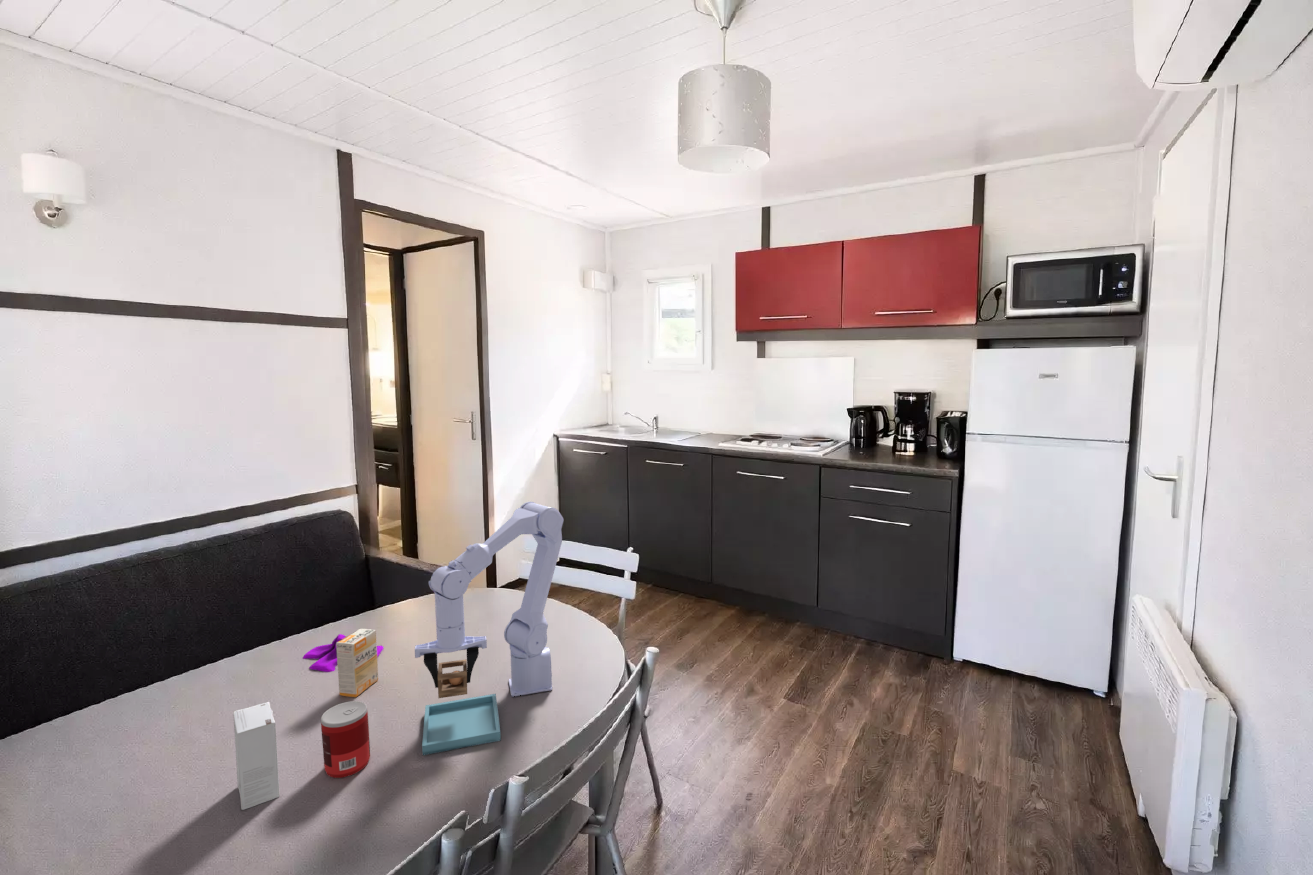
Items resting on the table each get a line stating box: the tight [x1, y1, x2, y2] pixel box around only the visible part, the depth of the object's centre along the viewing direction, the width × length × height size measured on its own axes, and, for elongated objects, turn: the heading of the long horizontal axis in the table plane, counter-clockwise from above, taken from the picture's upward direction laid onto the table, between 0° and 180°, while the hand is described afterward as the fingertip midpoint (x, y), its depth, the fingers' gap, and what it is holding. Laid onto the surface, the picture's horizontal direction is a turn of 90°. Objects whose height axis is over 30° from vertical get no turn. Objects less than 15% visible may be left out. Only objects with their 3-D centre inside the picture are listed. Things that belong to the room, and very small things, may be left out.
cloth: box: [302, 633, 384, 673], centre depth 161 cm, size 22×19×6 cm
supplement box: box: [336, 628, 379, 698], centre depth 143 cm, size 8×5×13 cm, turn 168°
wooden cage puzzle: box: [437, 658, 468, 699], centre depth 130 cm, size 6×6×5 cm
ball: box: [449, 670, 463, 685], centre depth 131 cm, size 3×3×3 cm
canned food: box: [320, 700, 371, 779], centre depth 115 cm, size 8×8×11 cm
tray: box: [421, 693, 501, 756], centre depth 128 cm, size 15×15×2 cm
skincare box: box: [232, 701, 280, 811], centre depth 108 cm, size 8×6×15 cm
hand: (453, 682), depth 130 cm, fingers closed on wooden cage puzzle, 6 cm apart
